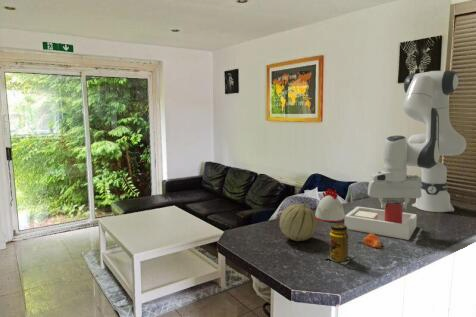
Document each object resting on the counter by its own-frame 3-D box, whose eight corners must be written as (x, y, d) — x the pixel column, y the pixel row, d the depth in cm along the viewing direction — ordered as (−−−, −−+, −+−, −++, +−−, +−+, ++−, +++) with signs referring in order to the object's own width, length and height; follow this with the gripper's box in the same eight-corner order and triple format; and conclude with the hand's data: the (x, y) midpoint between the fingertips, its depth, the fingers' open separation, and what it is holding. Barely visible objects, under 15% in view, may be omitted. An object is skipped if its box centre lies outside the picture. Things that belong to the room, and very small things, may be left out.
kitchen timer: (334, 226, 148) (334, 193, 146) (309, 219, 158) (309, 189, 156) (350, 219, 157) (351, 188, 155) (326, 213, 167) (326, 184, 166)
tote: (357, 219, 156) (357, 206, 155) (416, 229, 141) (416, 214, 140) (344, 230, 142) (344, 216, 141) (408, 242, 127) (409, 226, 126)
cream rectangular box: (359, 221, 150) (359, 210, 150) (377, 224, 146) (378, 213, 145) (353, 226, 144) (354, 215, 143) (372, 229, 139) (373, 218, 139)
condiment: (325, 259, 114) (325, 226, 112) (335, 251, 120) (335, 220, 119) (345, 265, 109) (345, 230, 108) (355, 256, 115) (355, 223, 114)
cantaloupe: (273, 236, 137) (272, 201, 135) (302, 231, 142) (302, 197, 141) (292, 249, 123) (292, 210, 121) (324, 242, 129) (324, 205, 127)
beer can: (403, 232, 134) (404, 204, 133) (386, 232, 136) (386, 203, 134) (399, 227, 140) (400, 200, 139) (383, 226, 142) (383, 199, 141)
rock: (376, 255, 117) (376, 244, 117) (349, 245, 128) (349, 234, 127) (397, 248, 123) (397, 237, 123) (369, 238, 134) (369, 228, 133)
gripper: (419, 174, 137) (417, 206, 138) (367, 173, 140) (366, 205, 142) (424, 176, 130) (423, 210, 132) (370, 176, 134) (369, 209, 136)
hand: (393, 208), depth 137 cm, fingers closed on beer can, 7 cm apart
